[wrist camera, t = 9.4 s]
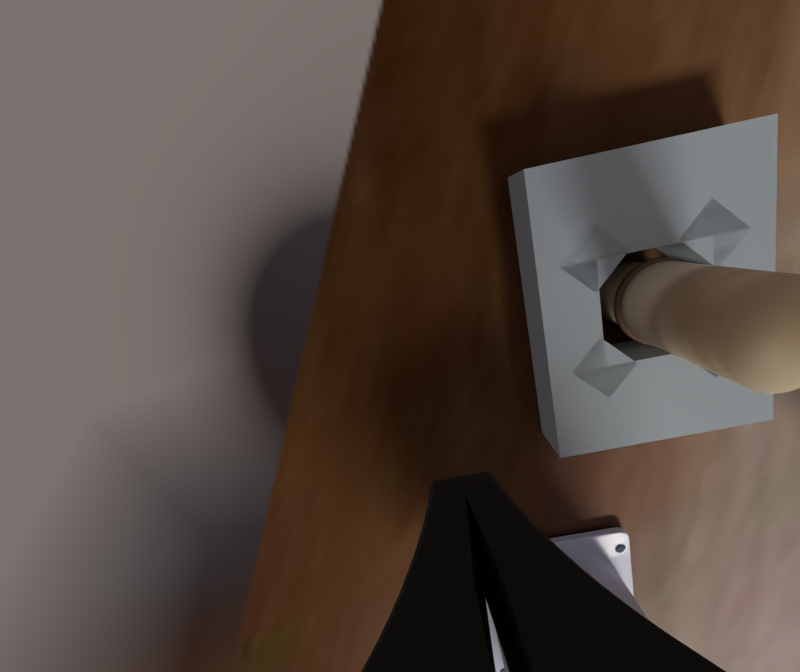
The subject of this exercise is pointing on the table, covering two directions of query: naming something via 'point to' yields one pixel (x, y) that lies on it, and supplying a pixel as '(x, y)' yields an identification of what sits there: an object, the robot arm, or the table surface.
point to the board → (605, 248)
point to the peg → (712, 317)
